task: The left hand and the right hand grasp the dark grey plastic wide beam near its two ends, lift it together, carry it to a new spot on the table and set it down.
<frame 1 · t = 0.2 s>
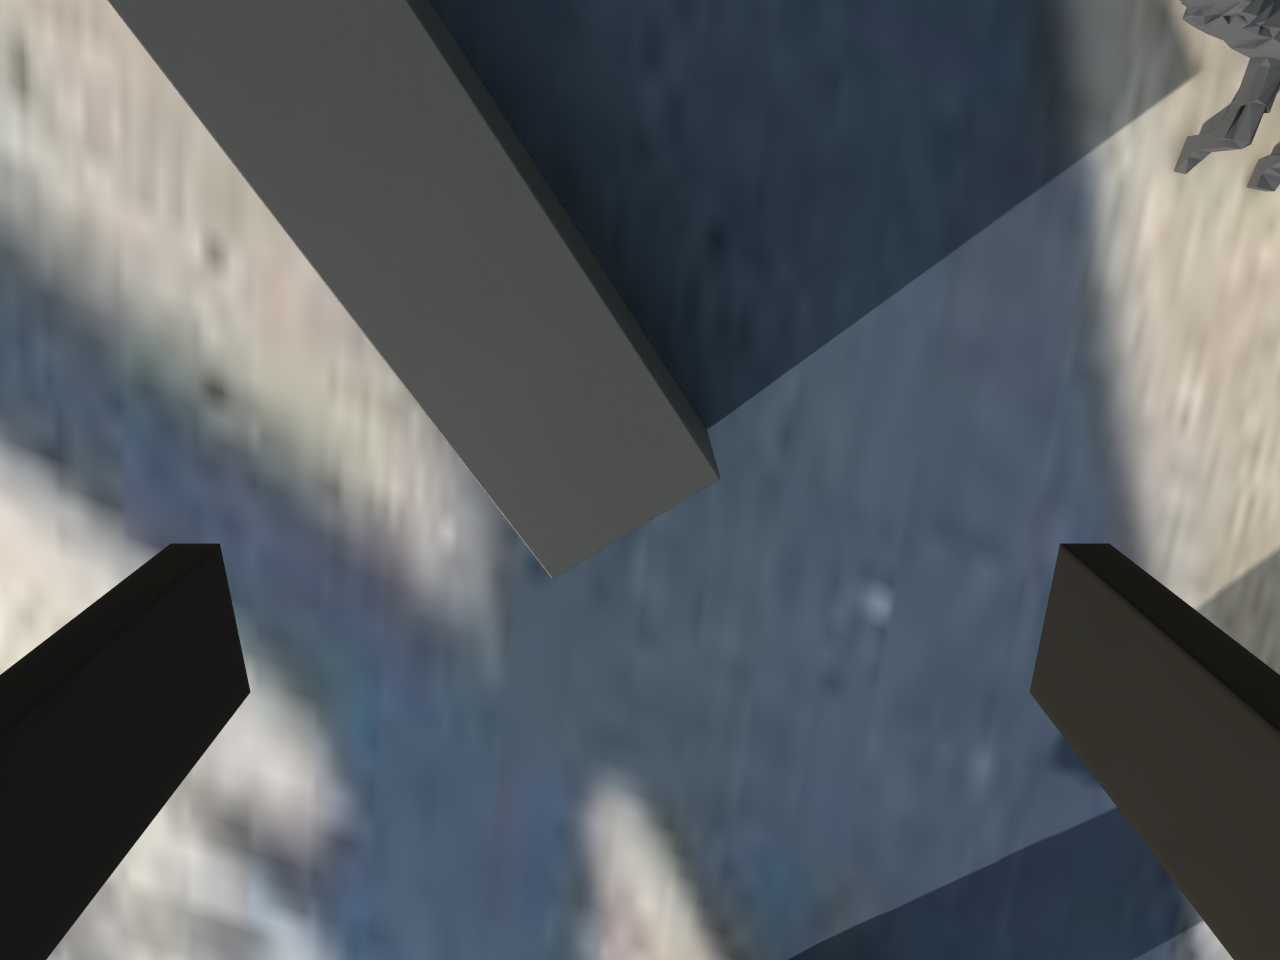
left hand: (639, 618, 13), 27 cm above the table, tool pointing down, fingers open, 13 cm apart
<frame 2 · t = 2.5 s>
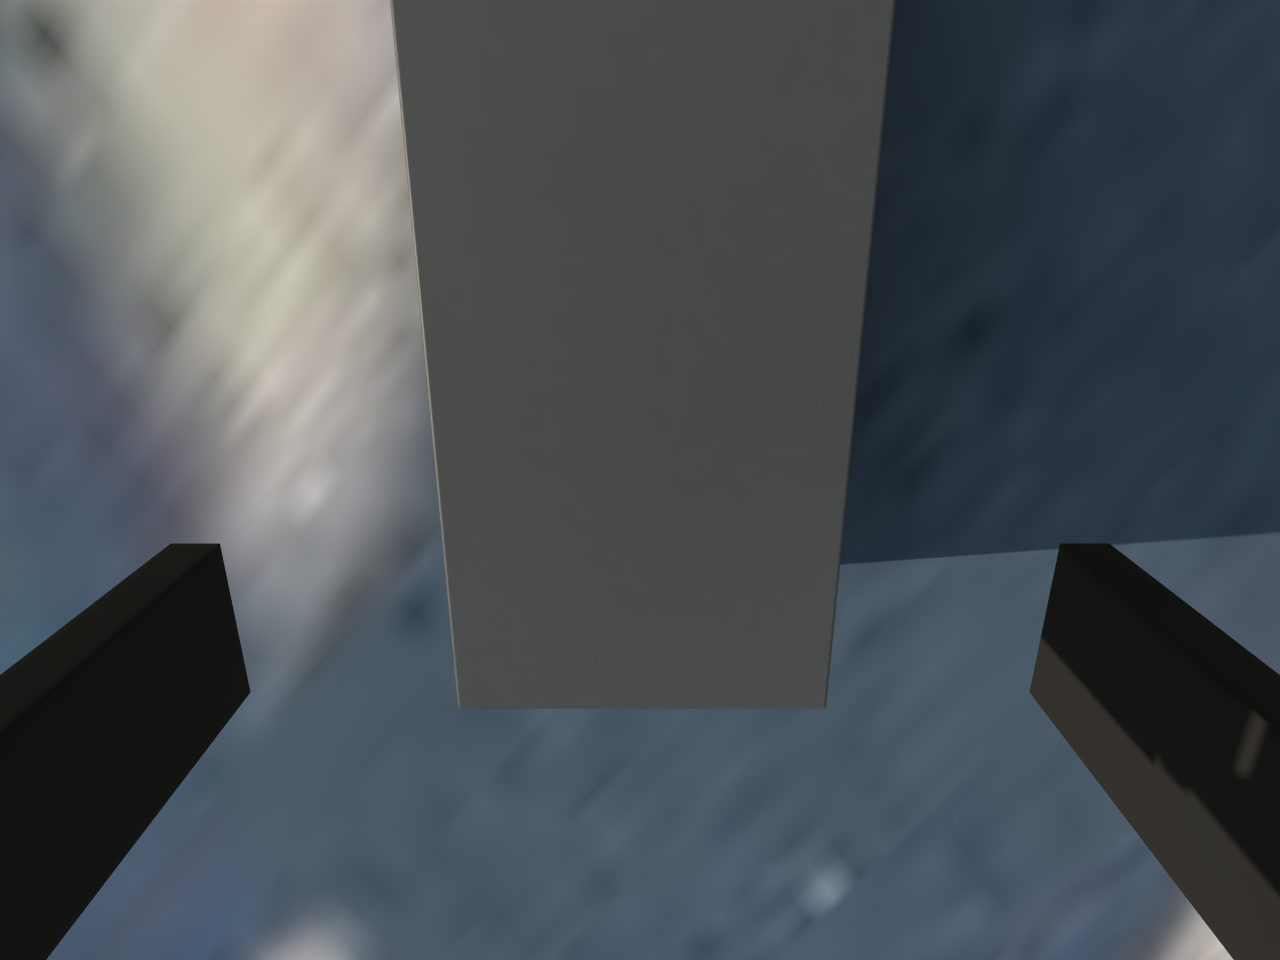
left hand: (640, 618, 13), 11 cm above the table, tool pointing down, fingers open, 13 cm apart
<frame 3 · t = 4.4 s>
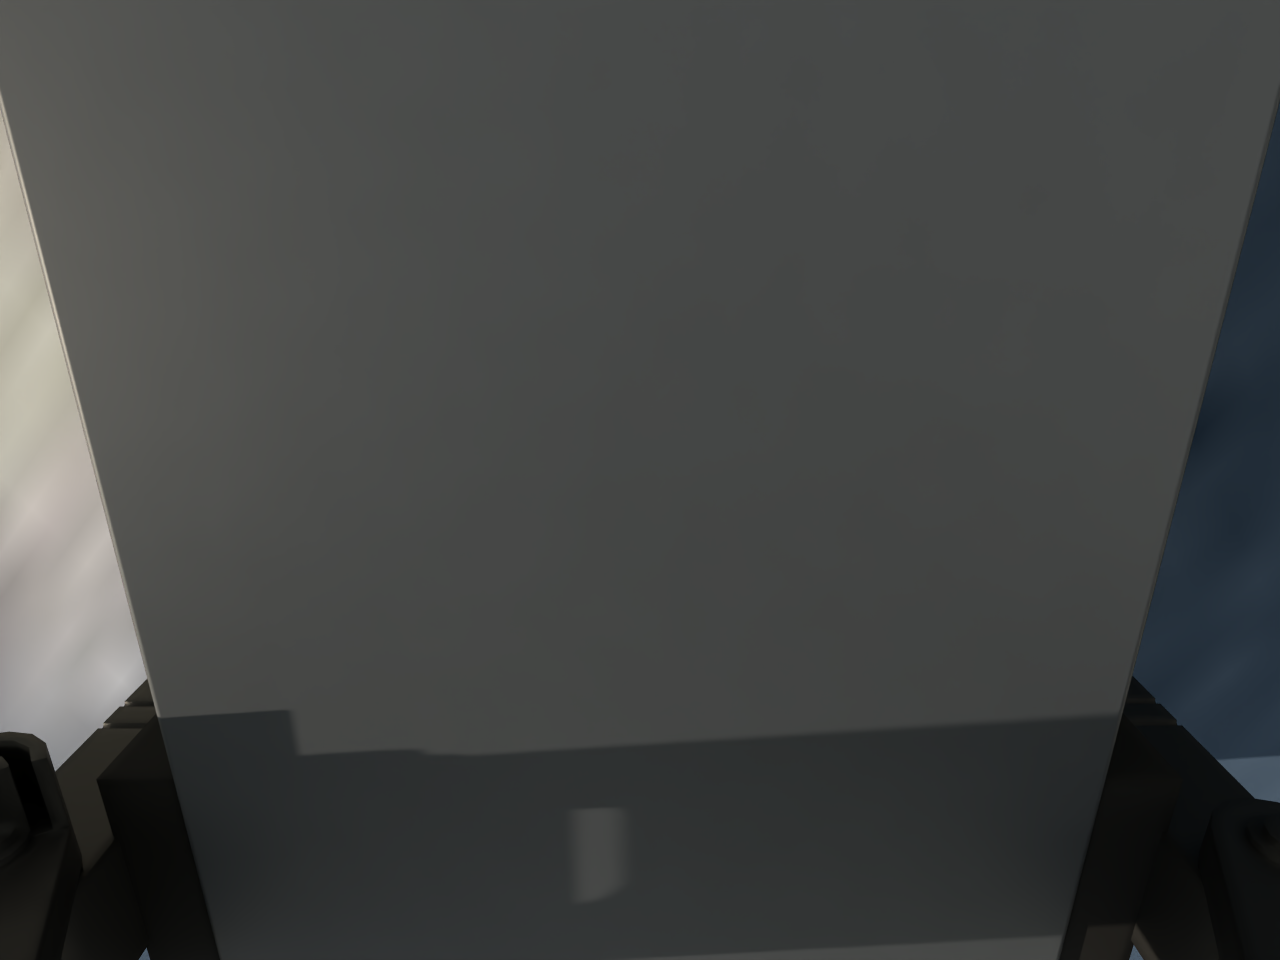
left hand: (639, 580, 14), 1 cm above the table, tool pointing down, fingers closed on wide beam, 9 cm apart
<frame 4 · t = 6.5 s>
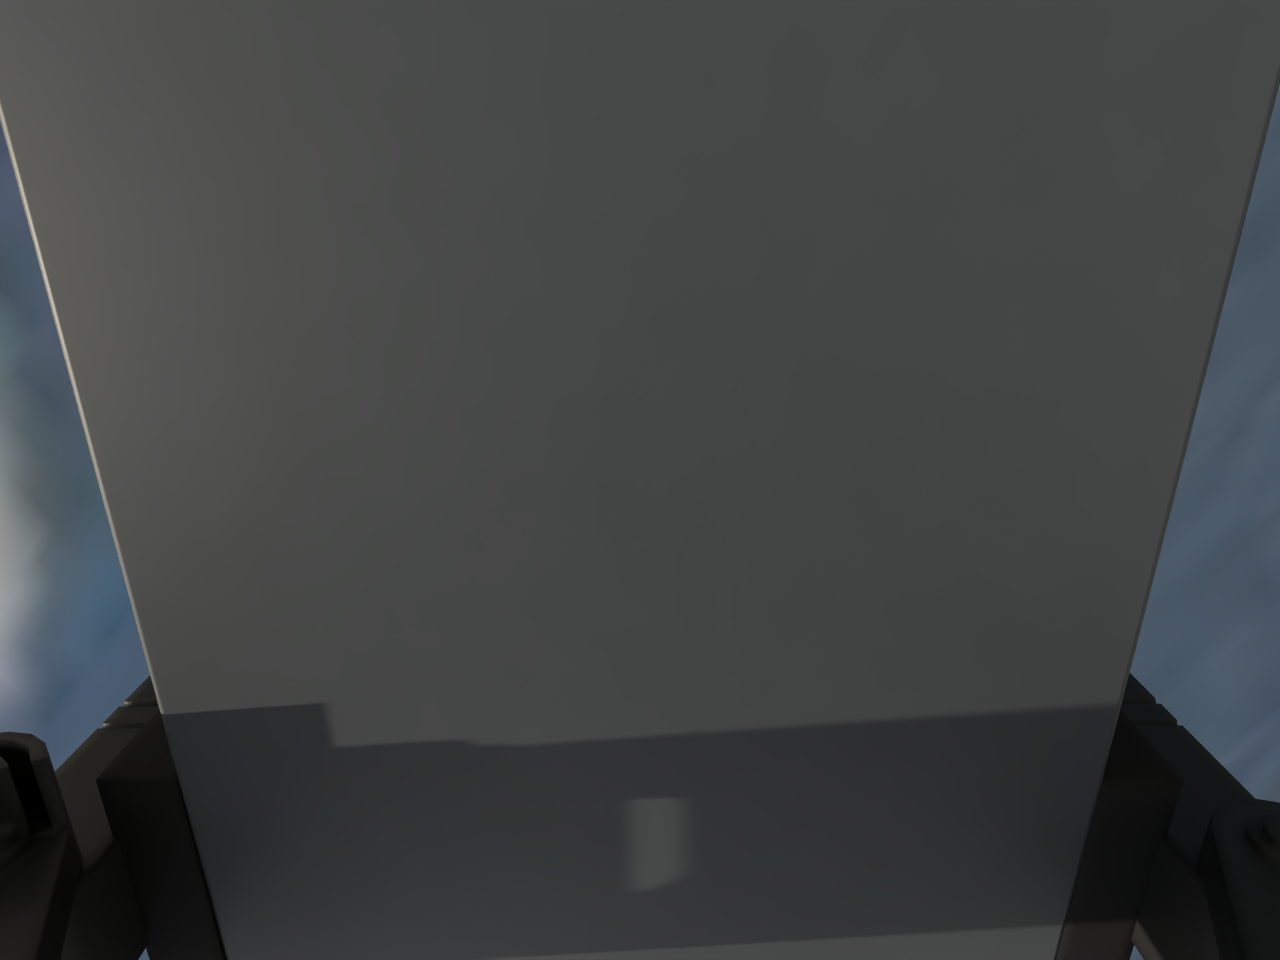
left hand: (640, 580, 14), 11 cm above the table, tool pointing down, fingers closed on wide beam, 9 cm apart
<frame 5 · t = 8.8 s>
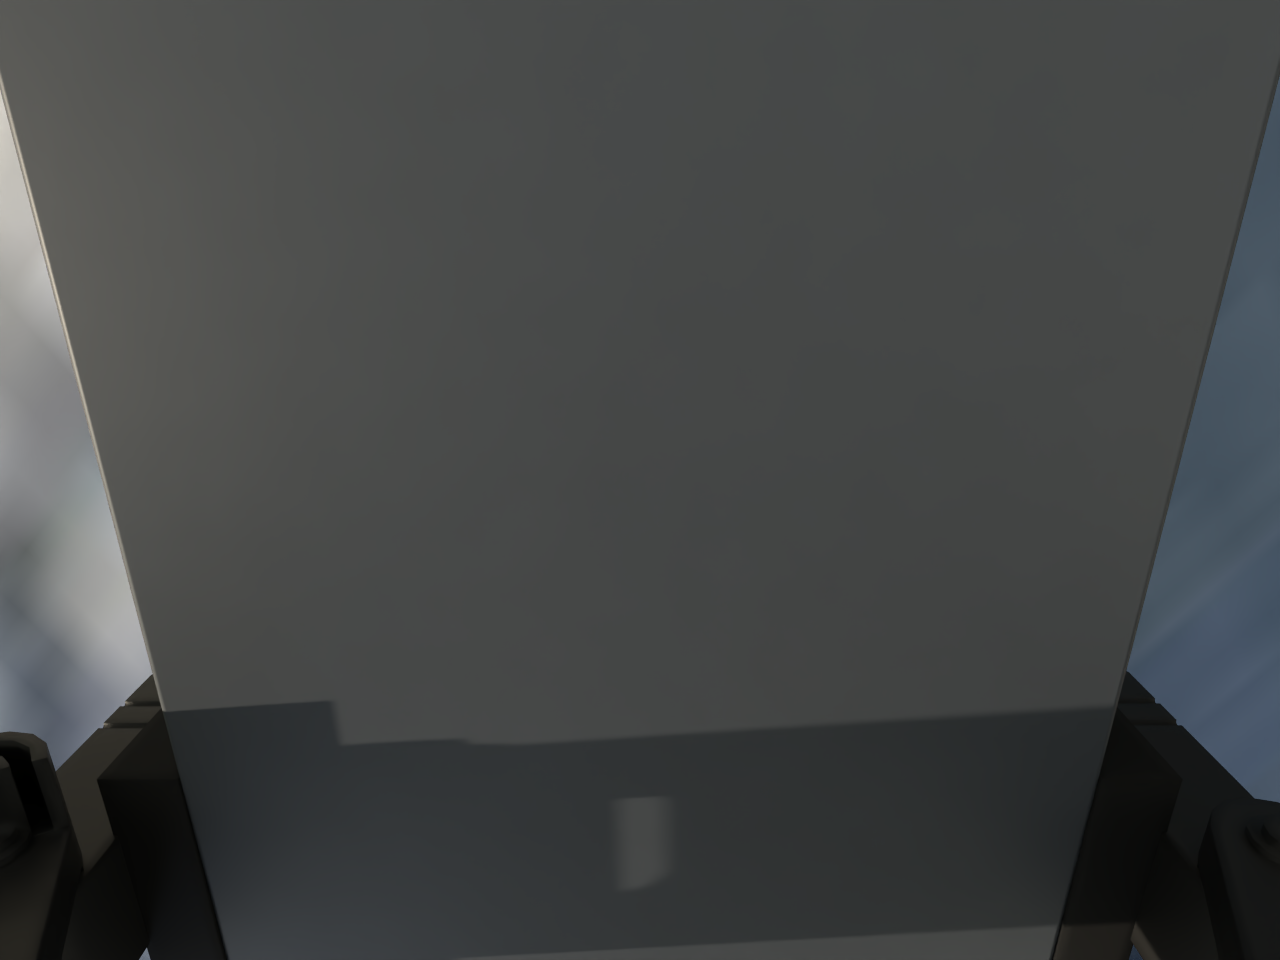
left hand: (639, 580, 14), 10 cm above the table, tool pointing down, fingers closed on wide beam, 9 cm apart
when the left hand's fingers open (2 cm above the table, at t = 10.6 s): wide beam drops 1 cm, on the table.
when the right hand's fingers open (2 cm above the table, at t = 10.6 s): wide beam drops 1 cm, on the table.
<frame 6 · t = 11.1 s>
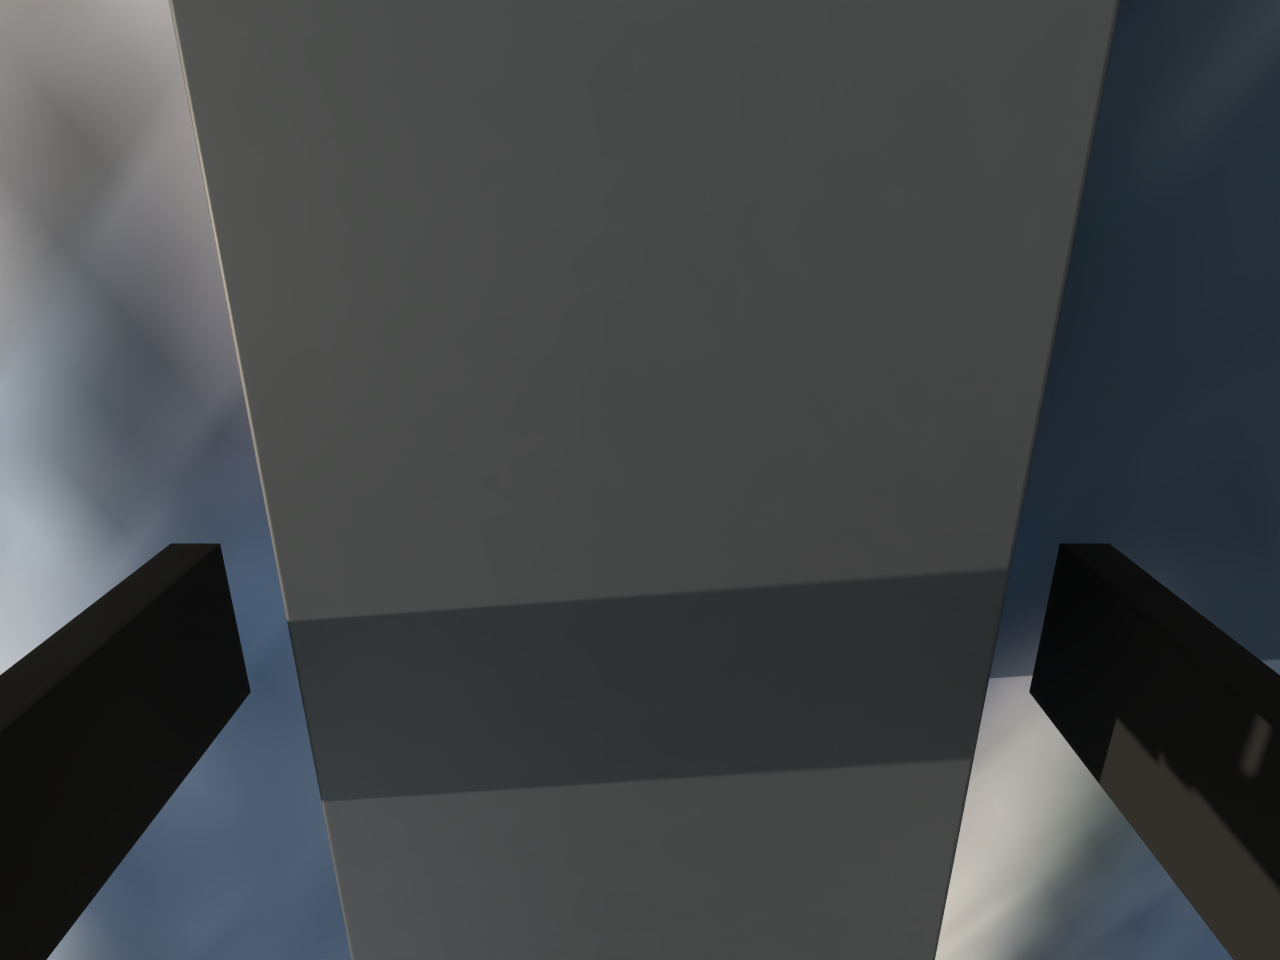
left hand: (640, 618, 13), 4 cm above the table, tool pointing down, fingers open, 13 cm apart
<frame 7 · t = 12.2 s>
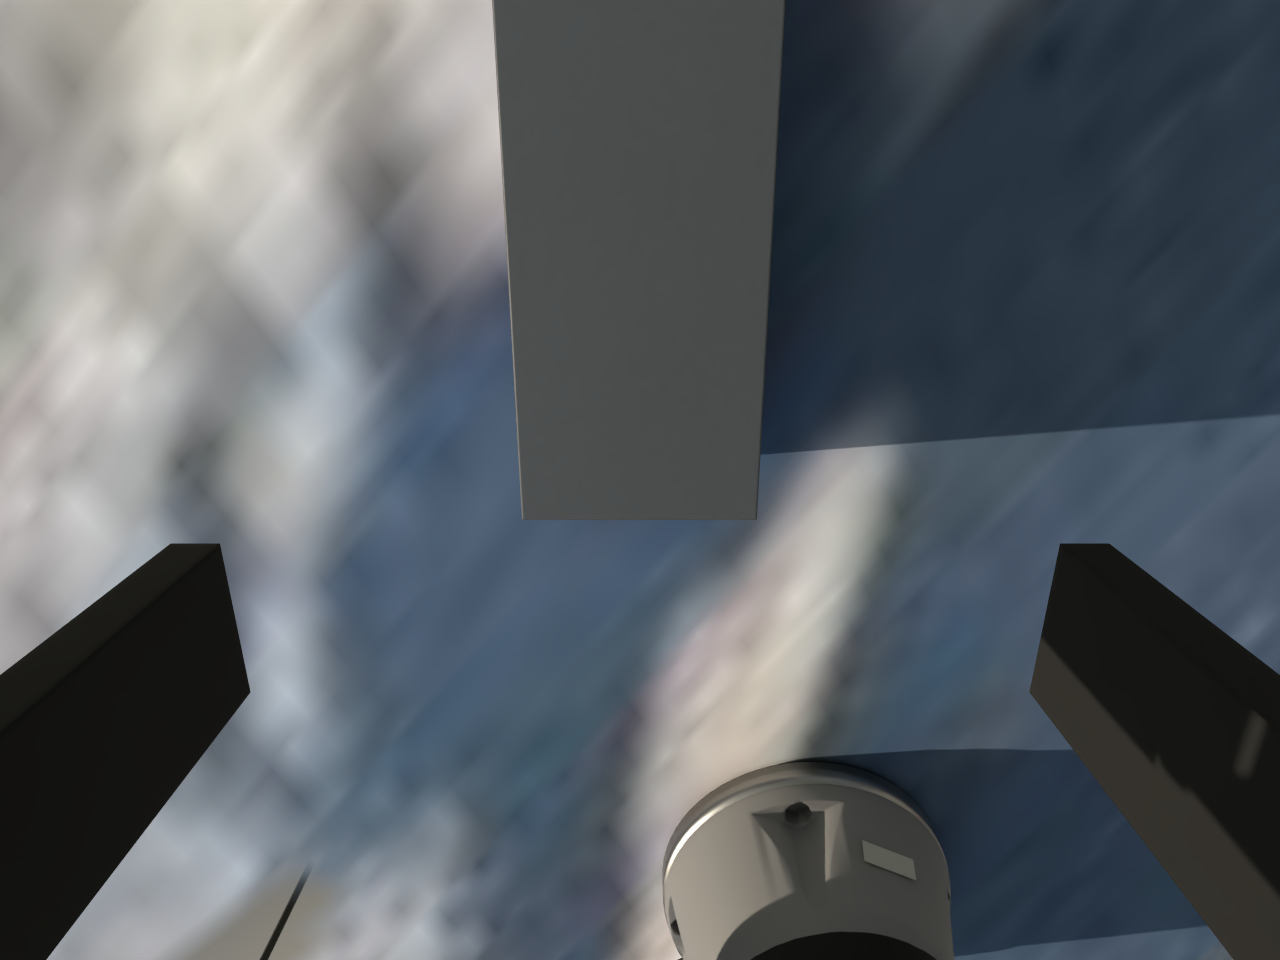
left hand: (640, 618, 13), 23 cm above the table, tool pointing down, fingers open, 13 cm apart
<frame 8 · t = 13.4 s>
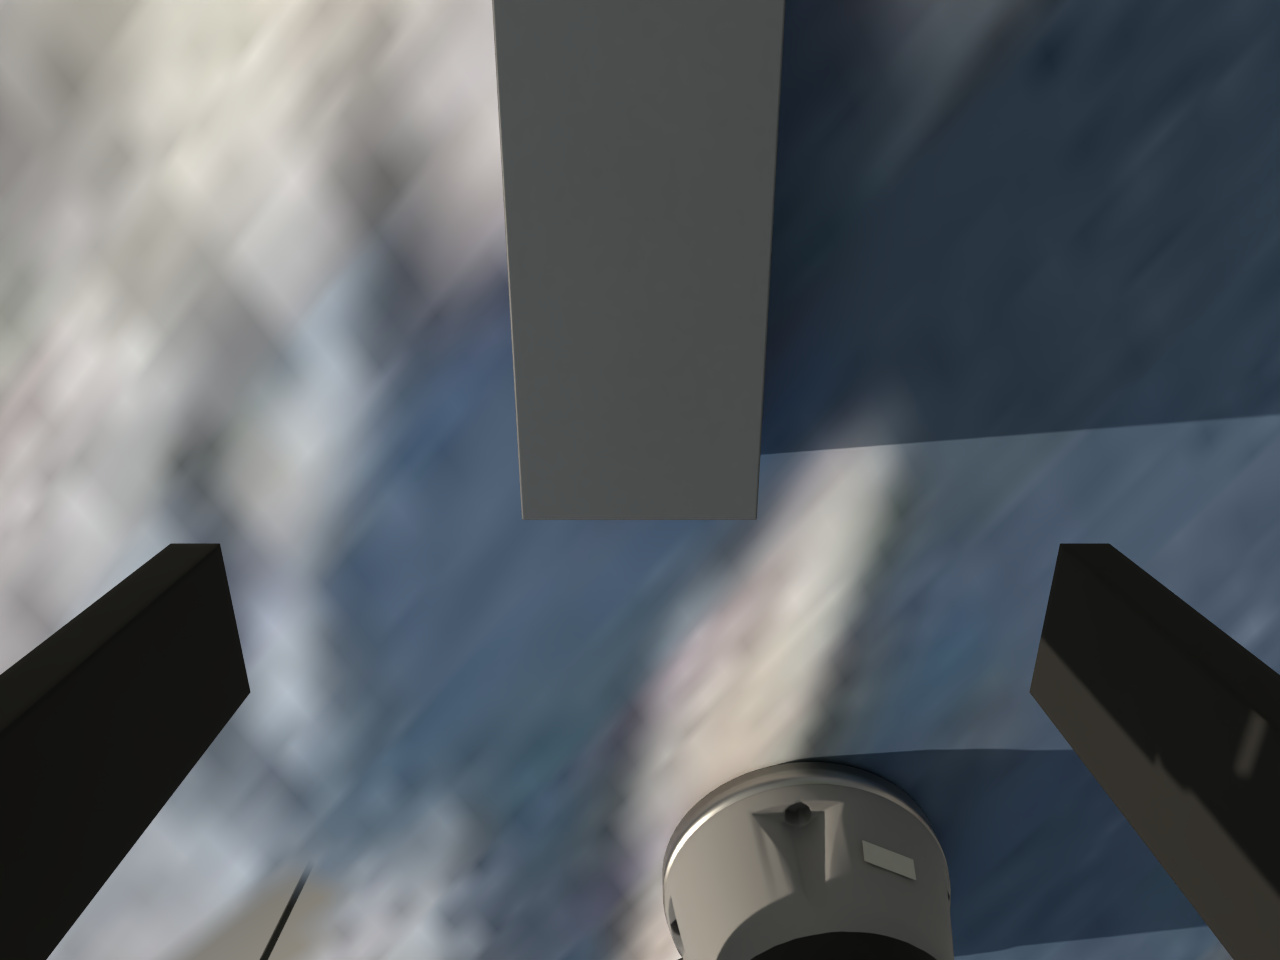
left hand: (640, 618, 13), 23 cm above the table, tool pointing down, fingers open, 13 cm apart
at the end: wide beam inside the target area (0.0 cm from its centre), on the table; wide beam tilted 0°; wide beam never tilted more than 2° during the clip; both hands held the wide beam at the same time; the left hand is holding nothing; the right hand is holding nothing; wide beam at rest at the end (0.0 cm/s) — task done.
